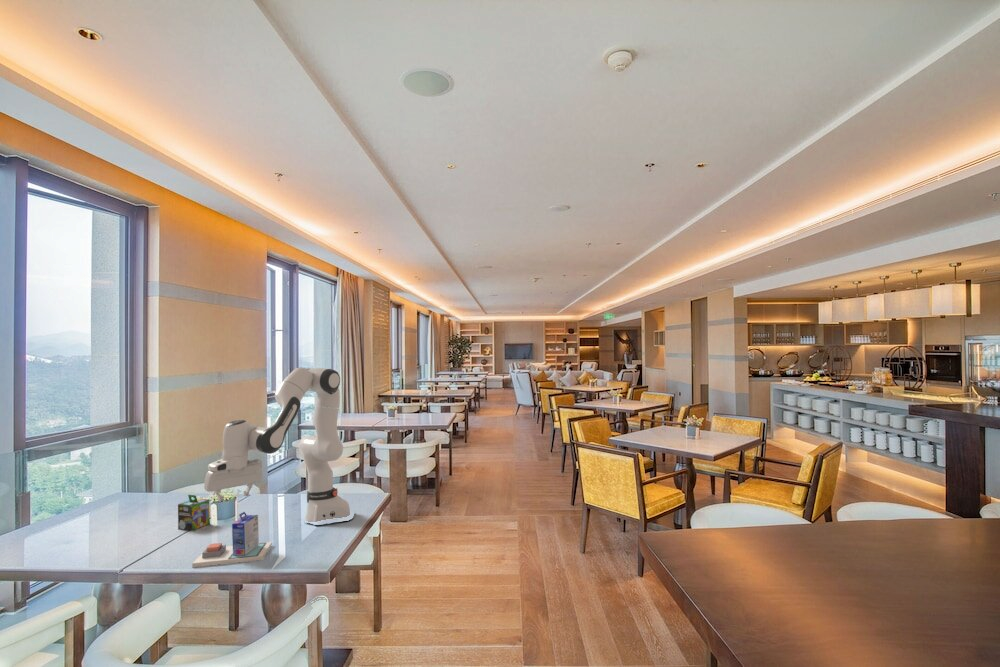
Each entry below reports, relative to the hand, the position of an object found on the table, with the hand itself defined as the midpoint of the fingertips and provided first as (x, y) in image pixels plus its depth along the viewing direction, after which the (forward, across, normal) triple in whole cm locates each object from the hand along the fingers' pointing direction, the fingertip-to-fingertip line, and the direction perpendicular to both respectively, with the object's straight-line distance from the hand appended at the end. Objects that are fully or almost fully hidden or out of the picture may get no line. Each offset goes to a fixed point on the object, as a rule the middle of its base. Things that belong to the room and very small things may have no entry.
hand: (233, 498), depth 185 cm
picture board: (+22, -1, 0) cm, 22 cm away
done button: (+20, +5, -4) cm, 21 cm away
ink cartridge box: (+21, -4, +2) cm, 21 cm away
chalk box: (+22, -3, -50) cm, 55 cm away
